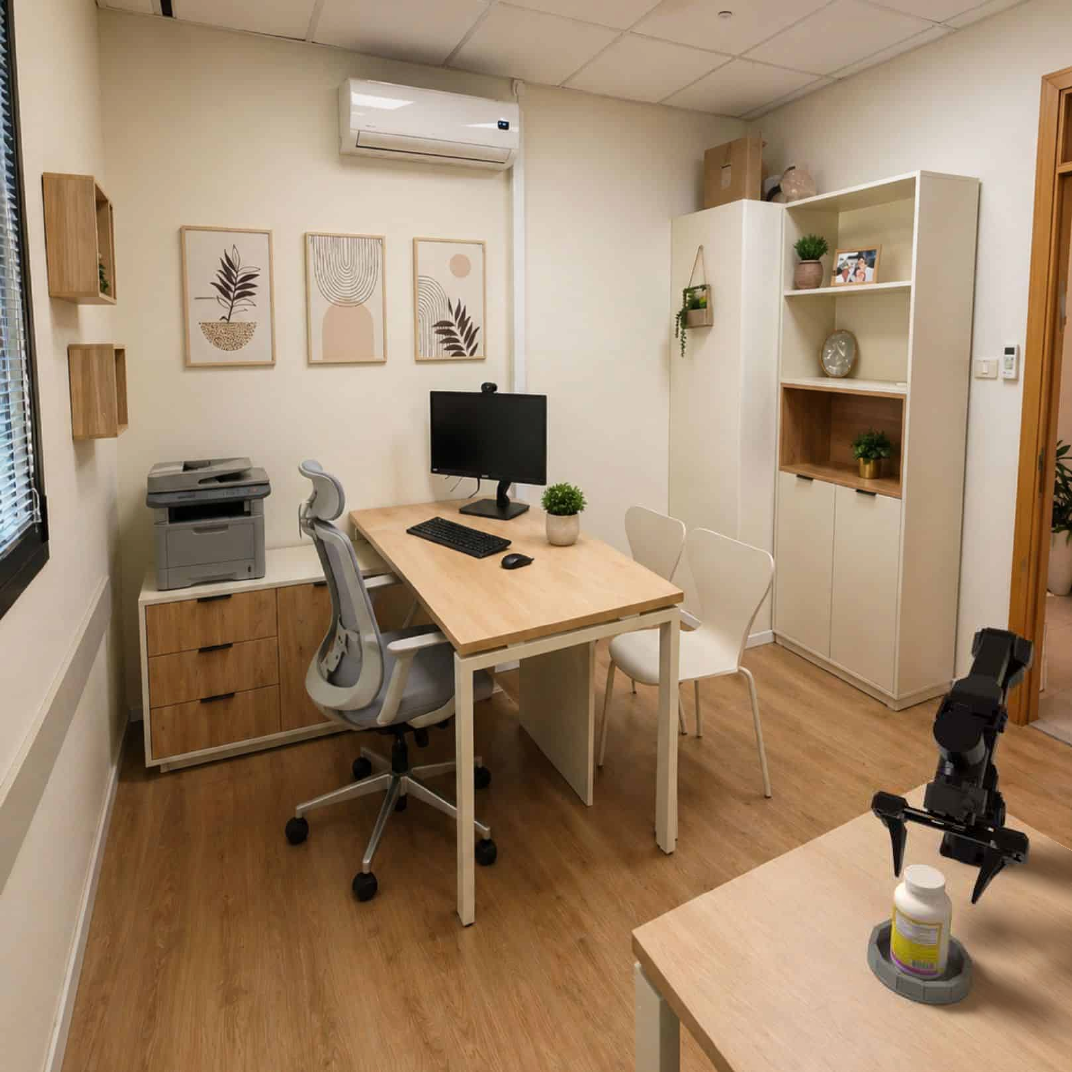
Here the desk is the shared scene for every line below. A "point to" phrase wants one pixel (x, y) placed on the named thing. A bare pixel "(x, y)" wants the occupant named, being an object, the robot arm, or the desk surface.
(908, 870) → the supplement bottle
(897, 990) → the grey round tray
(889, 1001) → the desk surface
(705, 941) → the desk surface
